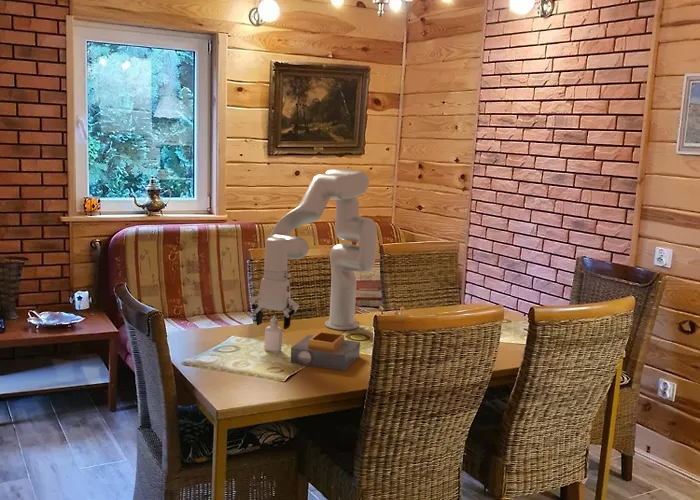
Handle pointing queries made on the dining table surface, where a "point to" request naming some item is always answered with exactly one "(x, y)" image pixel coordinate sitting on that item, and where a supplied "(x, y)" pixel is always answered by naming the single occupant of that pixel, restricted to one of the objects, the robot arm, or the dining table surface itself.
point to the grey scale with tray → (325, 351)
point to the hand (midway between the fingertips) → (272, 326)
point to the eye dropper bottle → (273, 337)
